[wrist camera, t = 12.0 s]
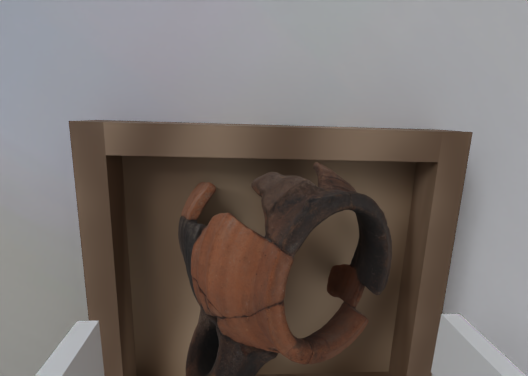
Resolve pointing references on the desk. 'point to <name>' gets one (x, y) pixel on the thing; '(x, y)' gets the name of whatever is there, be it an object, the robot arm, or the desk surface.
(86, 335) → the robot arm
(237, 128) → the walnut tray
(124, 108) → the desk surface
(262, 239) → the broken clay pot
